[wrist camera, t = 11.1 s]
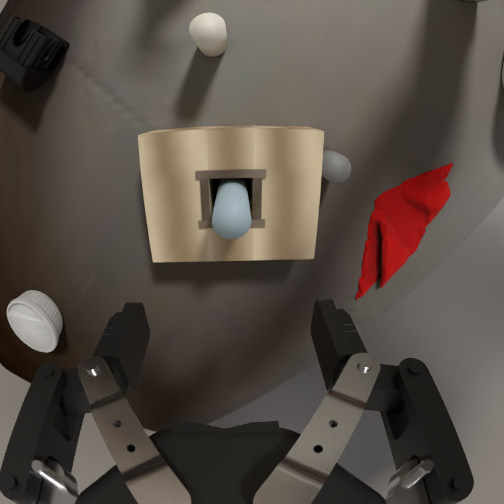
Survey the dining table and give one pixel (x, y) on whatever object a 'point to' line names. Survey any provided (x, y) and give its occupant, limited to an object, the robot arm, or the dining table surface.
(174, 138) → the hole block
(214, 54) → the medium pin
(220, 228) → the long pin
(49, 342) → the ramekin
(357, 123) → the dining table surface
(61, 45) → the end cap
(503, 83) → the toilet tissue
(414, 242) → the cloth
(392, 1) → the dining table surface
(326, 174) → the short pin
